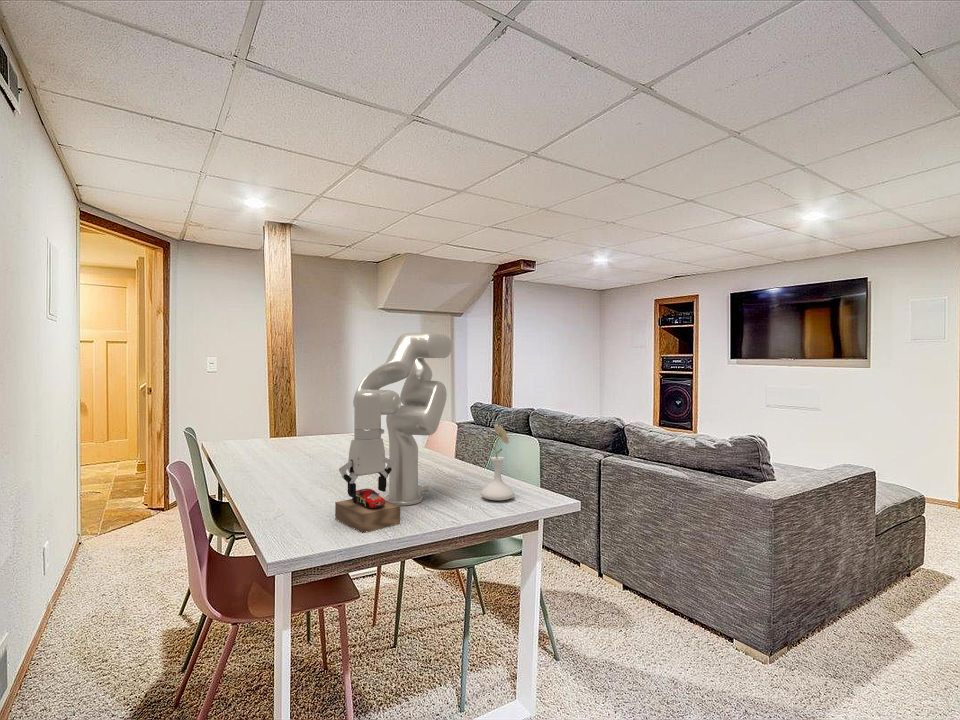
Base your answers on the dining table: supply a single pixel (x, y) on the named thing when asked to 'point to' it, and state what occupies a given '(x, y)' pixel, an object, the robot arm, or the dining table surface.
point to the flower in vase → (498, 474)
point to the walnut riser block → (367, 515)
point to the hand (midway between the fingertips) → (367, 493)
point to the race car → (368, 498)
